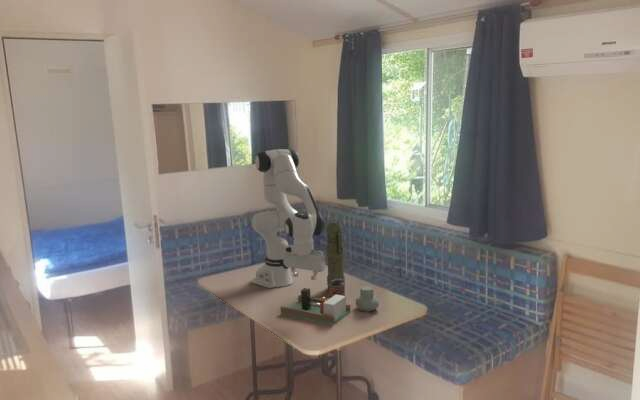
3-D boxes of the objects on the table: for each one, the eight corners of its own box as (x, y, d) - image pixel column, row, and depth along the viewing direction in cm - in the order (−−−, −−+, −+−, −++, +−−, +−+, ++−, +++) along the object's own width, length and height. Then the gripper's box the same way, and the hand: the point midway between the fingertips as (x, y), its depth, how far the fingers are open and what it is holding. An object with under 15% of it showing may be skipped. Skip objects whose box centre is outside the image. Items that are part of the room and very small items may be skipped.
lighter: (330, 301, 244) (329, 281, 242) (328, 299, 247) (327, 279, 245) (346, 299, 246) (345, 279, 244) (344, 296, 249) (343, 277, 248)
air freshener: (353, 306, 237) (353, 285, 235) (370, 303, 240) (369, 283, 238) (364, 315, 227) (363, 293, 225) (380, 311, 230) (380, 290, 228)
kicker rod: (300, 309, 232) (299, 290, 230) (306, 305, 236) (305, 287, 234) (323, 314, 226) (322, 294, 224) (328, 310, 230) (328, 291, 229)
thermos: (337, 284, 268) (335, 218, 261) (349, 290, 258) (348, 222, 251) (322, 287, 263) (320, 221, 257) (335, 294, 253) (333, 225, 247)
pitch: (280, 314, 231) (280, 297, 229) (299, 302, 244) (299, 286, 243) (333, 325, 217) (333, 307, 216) (350, 311, 231) (350, 294, 230)
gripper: (327, 249, 226) (328, 279, 229) (288, 243, 236) (289, 272, 239) (320, 253, 220) (321, 284, 223) (281, 247, 230) (282, 276, 233)
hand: (304, 278), depth 231 cm, fingers open, 8 cm apart
